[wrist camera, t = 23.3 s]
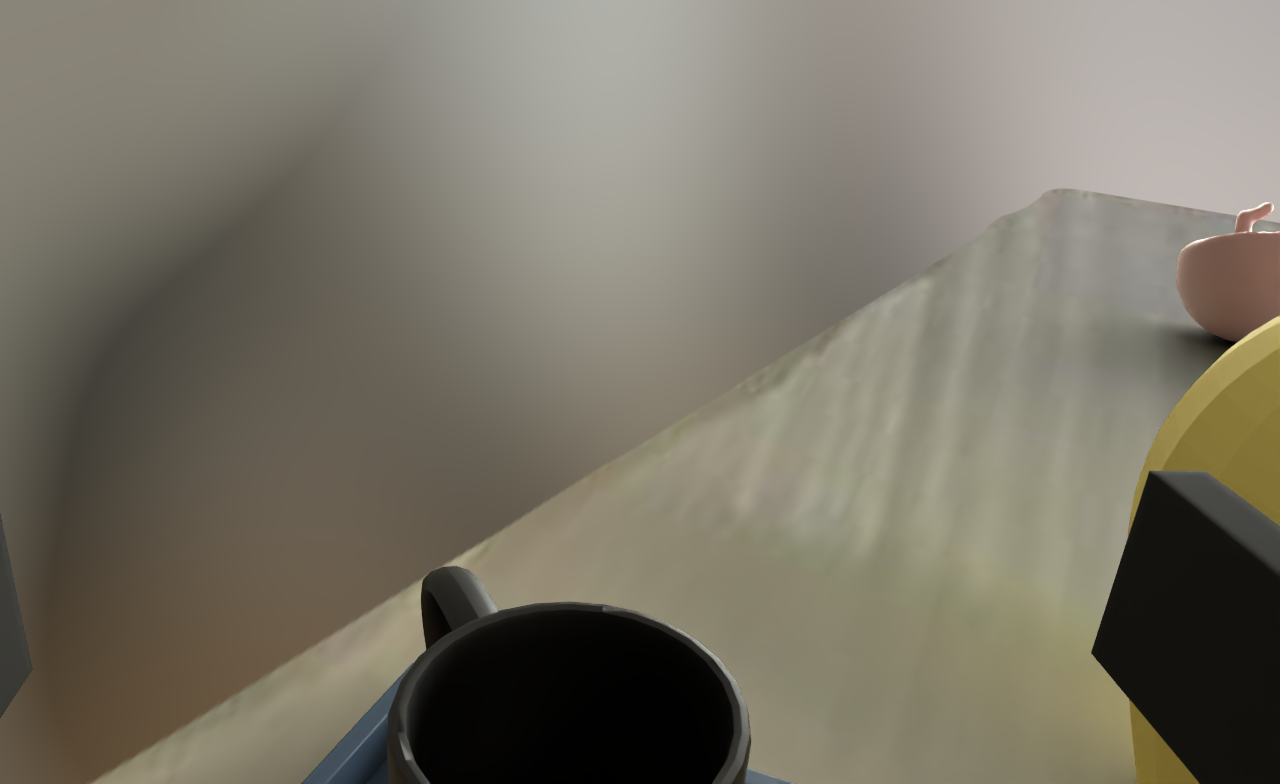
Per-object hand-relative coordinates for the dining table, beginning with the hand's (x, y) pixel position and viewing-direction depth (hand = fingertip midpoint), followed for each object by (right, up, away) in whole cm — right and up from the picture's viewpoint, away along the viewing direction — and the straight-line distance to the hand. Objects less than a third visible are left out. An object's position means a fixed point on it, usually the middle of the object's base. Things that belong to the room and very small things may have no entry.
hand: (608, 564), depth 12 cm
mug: (-3, -13, +16) cm, 21 cm away
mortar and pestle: (+51, +6, +73) cm, 89 cm away
